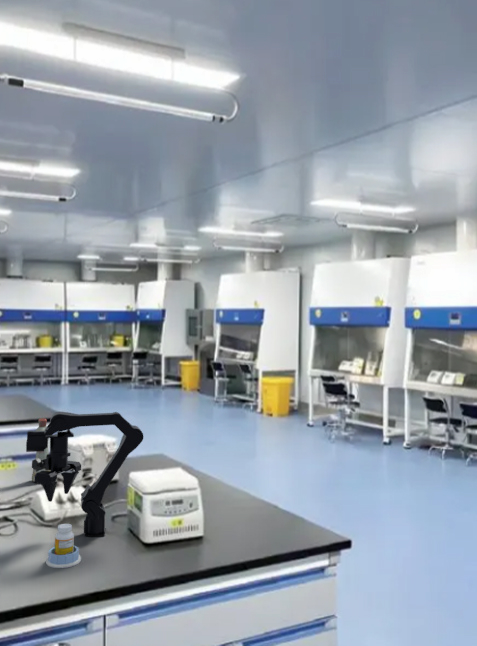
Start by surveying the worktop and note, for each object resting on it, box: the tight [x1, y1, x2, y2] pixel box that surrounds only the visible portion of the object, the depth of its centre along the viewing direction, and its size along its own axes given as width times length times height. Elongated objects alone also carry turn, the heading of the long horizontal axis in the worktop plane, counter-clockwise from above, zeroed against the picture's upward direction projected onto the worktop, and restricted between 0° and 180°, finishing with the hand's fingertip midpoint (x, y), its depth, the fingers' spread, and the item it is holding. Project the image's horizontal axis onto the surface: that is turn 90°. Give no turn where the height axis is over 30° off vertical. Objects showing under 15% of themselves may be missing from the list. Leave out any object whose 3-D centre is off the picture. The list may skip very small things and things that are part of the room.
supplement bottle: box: [54, 523, 75, 555], centre depth 183 cm, size 5×5×10 cm
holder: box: [45, 545, 82, 569], centre depth 183 cm, size 10×10×3 cm
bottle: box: [31, 417, 50, 483], centre depth 270 cm, size 9×9×28 cm
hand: (58, 497), depth 203 cm, fingers open, 9 cm apart
